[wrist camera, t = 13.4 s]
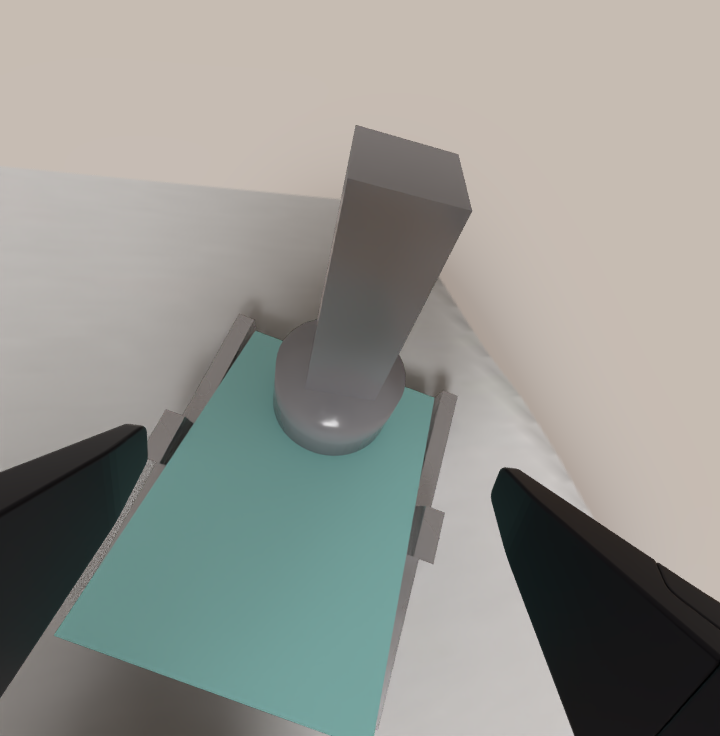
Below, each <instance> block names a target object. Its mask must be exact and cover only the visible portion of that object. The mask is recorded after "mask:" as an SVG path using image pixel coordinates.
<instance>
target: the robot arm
mask: <svg viewBox="0 0 720 736" xmlns="http://www.w3.org/2000/svg"><path fill="white" fill-rule="evenodd" d="M147 459H148V445H147V431H146V428H145V427H144V426H141V425H133V424H124V425H122V426H119V427H117V428H114V429H111V430H109V431H106V432H104V433H101V434H98V435H96V436H93V437H91V438H88V439H85V440H83V441H80V442H78V443H75V444H72V445H70V446H67V447H65V448H62V449H59V450H57V451H54V452H52V453H49V454H47V455H44V456H41V457H39V458H36V459H34V460H31V461H28V462H26V463H23V464H21V465H18V466H15V467H13V468H10V469H8V470H5V471H2V472H0V698H1V696H2V695H3V693H4V692H5V690H6V689H7V687H8V686H9V684H10V683H11V681H12V680H13V678H14V677H15V675H16V674H17V672H18V670H19V669H20V667H21V666H22V664H23V663H24V661H25V660H26V658H27V657H28V655H29V654H30V652H31V651H32V649H33V648H34V646H35V645H36V643H37V642H38V640H39V639H40V637H41V636H42V634H43V632H44V631H45V629H46V628H47V626H48V625H49V623H50V622H51V620H52V619H53V617H54V616H55V614H56V613H57V611H58V610H59V608H60V607H61V605H62V604H63V602H64V601H65V599H66V598H67V596H68V594H69V593H70V591H71V590H72V588H73V587H74V585H75V584H76V582H77V581H78V579H79V578H80V576H81V575H82V573H83V572H84V570H85V569H86V567H87V566H88V564H89V563H90V561H91V560H92V558H93V556H94V555H95V553H96V552H97V550H98V549H99V547H100V546H101V544H102V543H103V541H104V540H105V538H106V537H107V535H108V534H109V532H110V531H111V529H112V527H113V526H114V524H115V523H116V521H117V519H118V517H119V515H120V514H121V512H122V510H123V508H124V506H125V504H126V502H127V500H128V498H129V496H130V494H131V492H132V490H133V488H134V486H135V484H136V483H137V481H138V479H139V477H140V475H141V473H142V471H143V469H144V467H145V465H146V462H147ZM491 501H492V505H493V508H494V512H495V516H496V520H497V523H498V527H499V531H500V535H501V538H502V542H503V546H504V549H505V552H506V556H507V559H508V561H509V564H510V567H511V570H512V572H513V575H514V578H515V580H516V583H517V585H518V588H519V591H520V593H521V596H522V599H523V601H524V604H525V607H526V609H527V612H528V614H529V617H530V620H531V622H532V625H533V628H534V630H535V633H536V636H537V638H538V641H539V644H540V646H541V649H542V651H543V654H544V657H545V659H546V662H547V665H548V667H549V670H550V673H551V675H552V678H553V681H554V683H555V686H556V688H557V691H558V694H559V696H560V699H561V702H562V704H563V707H564V710H565V712H566V715H567V717H568V720H569V723H570V725H571V728H572V731H573V733H574V736H720V603H719V602H718V601H717V600H715V599H713V598H712V597H710V596H708V595H707V594H705V593H703V592H702V591H701V590H699V589H697V588H696V587H695V586H693V585H691V584H690V583H688V582H687V581H685V580H684V579H682V578H681V577H679V576H678V575H676V574H675V573H673V572H672V571H670V570H669V569H667V568H666V567H664V566H662V565H661V564H660V563H656V562H655V560H654V559H652V558H651V557H649V556H648V555H646V554H645V553H643V552H642V551H640V550H639V549H637V548H636V547H634V546H632V545H631V544H630V543H628V542H627V541H625V540H624V539H622V538H621V537H619V536H618V535H616V534H615V533H613V532H612V531H610V530H608V529H607V528H606V527H604V526H603V525H601V524H600V523H598V522H597V521H595V520H594V519H592V518H591V517H589V516H588V515H586V514H585V513H583V512H582V511H580V510H579V509H577V508H576V507H574V506H573V505H571V504H570V503H568V502H567V501H565V500H564V499H562V498H561V497H559V496H558V495H556V494H555V493H553V492H552V491H550V490H549V489H547V488H546V487H544V486H543V485H541V484H540V483H538V482H537V481H535V480H534V479H532V478H531V477H529V476H528V475H526V474H525V473H523V472H522V471H520V470H519V469H515V468H506V467H504V468H502V469H501V470H500V471H499V474H498V476H497V479H496V481H495V484H494V486H493V489H492V492H491Z"/></svg>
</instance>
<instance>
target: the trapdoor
mask: <svg viewBox="0 0 720 736" xmlns="http://www.w3.org/2000/svg"><path fill="white" fill-rule="evenodd" d="M282 342H283V341H282V340H279V339H276V338H274V337H271V336H268V335H266V334H263V333H260V332H258V331H255V332H254V334H253V335H252V337H251V338H250V340H249V341H248V343H247V344H246V346H245V347H244V349H243V350H242V352H241V353H240V355H239V356H238V358H237V359H236V361H235V362H234V364H233V365H232V367H231V368H230V370H229V371H228V373H227V374H226V376H225V377H224V379H223V380H222V382H221V383H220V385H219V386H218V388H217V389H216V391H215V393H214V394H213V396H212V397H211V399H210V400H209V402H208V403H207V405H206V406H205V408H204V409H203V411H202V412H201V414H200V415H199V417H198V418H197V420H196V421H195V423H194V424H193V426H192V427H191V429H190V430H189V432H188V433H187V435H186V436H185V438H184V439H183V441H182V442H181V444H180V445H179V447H178V448H177V450H176V451H175V453H174V455H173V456H172V458H171V459H170V461H169V462H168V464H167V465H166V467H165V468H164V470H163V471H162V473H161V474H160V476H159V477H158V479H157V480H156V482H155V483H154V485H153V486H152V488H151V489H150V491H149V492H148V494H147V495H146V497H145V498H144V500H143V501H142V503H141V504H140V506H139V507H138V509H137V510H136V512H135V513H134V515H133V516H132V518H131V520H130V521H129V523H128V524H127V526H126V527H125V529H124V530H123V532H122V533H121V535H120V536H119V538H118V539H117V541H116V542H115V544H114V545H113V547H112V548H111V550H110V551H109V553H108V554H107V556H106V557H105V559H104V560H103V562H102V563H101V565H100V566H99V568H98V569H97V571H96V572H95V574H94V575H93V577H92V578H91V580H90V582H89V583H88V585H87V586H86V588H85V589H84V591H83V592H82V594H81V595H80V597H79V598H78V600H77V601H76V603H75V604H74V606H73V607H72V609H71V610H70V612H69V613H68V615H67V616H66V618H65V619H64V621H63V622H62V624H61V625H60V627H59V628H58V630H57V631H56V633H55V634H54V636H56V637H59V638H61V639H64V640H67V641H70V642H73V643H75V644H78V645H81V646H84V647H86V648H89V649H92V650H95V651H98V652H100V653H103V654H106V655H109V656H111V657H114V658H117V659H120V660H122V661H125V662H128V663H131V664H134V665H136V666H139V667H142V668H145V669H147V670H150V671H153V672H156V673H159V674H161V675H164V676H167V677H170V678H172V679H175V680H178V681H181V682H184V683H186V684H189V685H192V686H195V687H197V688H200V689H203V690H206V691H208V692H211V693H214V694H217V695H220V696H222V697H225V698H228V699H231V700H233V701H236V702H239V703H242V704H245V705H247V706H250V707H253V708H256V709H258V710H261V711H264V712H267V713H270V714H272V715H275V716H278V717H281V718H283V719H286V720H289V721H292V722H294V723H297V724H300V725H303V726H306V727H308V728H311V729H314V730H317V731H319V732H322V733H325V734H328V735H331V736H374V733H375V727H376V722H377V716H378V711H379V705H380V700H381V694H382V688H383V683H384V677H385V672H386V666H387V660H388V655H389V649H390V644H391V638H392V633H393V627H394V621H395V616H396V610H397V605H398V599H399V593H400V588H401V582H402V577H403V571H404V566H405V560H406V554H407V549H408V543H409V538H410V532H411V526H412V521H413V515H414V510H415V504H416V499H417V493H418V487H419V482H420V476H421V471H422V465H423V459H424V454H425V448H426V443H427V437H428V432H429V426H430V420H431V415H432V409H433V404H434V397H431V396H428V395H426V394H423V393H420V392H418V391H415V390H412V389H410V388H407V387H405V389H404V392H403V395H402V397H401V399H400V401H399V403H398V404H397V406H396V407H395V409H394V411H393V412H392V414H391V416H390V417H389V419H388V420H387V422H386V424H385V425H384V427H383V429H382V430H381V432H380V433H379V435H378V436H377V437H376V439H375V440H374V441H373V442H372V443H370V444H369V445H368V446H366V447H365V448H363V449H361V450H359V451H357V452H354V453H351V454H347V455H342V456H328V455H322V454H317V453H314V452H311V451H309V450H306V449H304V448H302V447H301V446H299V445H298V444H296V443H295V442H294V441H292V440H291V439H290V438H289V437H288V436H287V435H286V434H285V433H284V431H283V430H282V428H281V427H280V425H279V423H278V421H277V419H276V416H275V413H274V408H273V392H274V380H275V367H276V358H277V353H278V350H279V347H280V345H281V344H282Z"/></svg>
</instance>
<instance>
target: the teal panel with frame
mask: <svg viewBox="0 0 720 736" xmlns="http://www.w3.org/2000/svg"><path fill="white" fill-rule="evenodd" d="M255 331H257V330H256V326H255V321H254V319H251V318H249V317H246V316H243V315H241V314H239V315H238V317H237V319H236V321H235V322H234V324H233V326H232V328H231V330H230V331H229V333H228V335H227V337H226V339H225V340H224V342H223V344H222V346H221V348H220V349H219V351H218V353H217V355H216V357H215V358H214V360H213V362H212V364H211V365H210V367H209V369H208V371H207V373H206V374H205V376H204V378H203V380H202V382H201V383H200V385H199V387H198V389H197V391H196V392H195V394H194V396H193V398H192V400H191V401H190V403H189V405H188V407H187V409H186V410H185V412H184V414H183V415H180V414H177V413H175V412H172V411H169V410H165V412H164V413H163V415H162V417H161V419H160V420H159V422H158V424H157V426H156V427H155V429H154V431H153V432H152V434H151V436H150V438H149V439H148V441H147V445H148V459H149V460H152V461H155V462H156V464H155V466H154V468H153V469H152V471H151V473H150V475H149V477H148V478H147V480H146V482H145V484H144V486H143V487H142V489H141V491H140V493H139V495H138V496H137V498H136V500H135V502H134V504H133V505H132V507H131V509H130V511H129V513H128V514H127V516H126V518H125V520H124V521H123V523H122V525H121V527H120V529H119V530H118V532H117V534H116V536H115V538H114V539H113V541H112V543H111V545H110V547H109V548H108V550H107V552H106V554H105V556H104V557H103V559H102V561H101V563H102V562H103V560H104V559H105V557H106V556H107V554H108V553H109V551H110V550H111V548H112V547H113V545H114V544H115V542H116V541H117V539H118V538H119V536H120V535H121V533H122V532H123V530H124V529H125V527H126V526H127V524H128V523H129V521H130V520H131V518H132V516H133V515H134V513H135V512H136V510H137V509H138V507H139V506H140V504H141V503H142V501H143V500H144V498H145V497H146V495H147V494H148V492H149V491H150V489H151V488H152V486H153V485H154V483H155V482H156V480H157V479H158V477H159V476H160V474H161V473H162V471H163V470H164V468H165V467H166V465H167V464H168V462H169V461H170V459H171V458H172V456H173V455H174V453H175V451H176V450H177V448H178V447H179V445H180V444H181V442H182V441H183V439H184V438H185V436H186V435H187V433H188V432H189V430H190V429H191V427H192V426H193V424H194V423H195V421H196V420H197V418H198V417H199V415H200V414H201V412H202V411H203V409H204V408H205V406H206V405H207V403H208V402H209V400H210V399H211V397H212V396H213V394H214V393H215V391H216V389H217V388H218V386H219V385H220V383H221V382H222V380H223V379H224V377H225V376H226V374H227V373H228V371H229V370H230V368H231V367H232V365H233V364H234V362H235V361H236V359H237V358H238V356H239V355H240V353H241V352H242V350H243V349H244V347H245V346H246V344H247V343H248V341H249V340H250V338H251V337H252V335H253V334H254V332H255ZM456 401H457V396H456V395H453V394H451V393H448V392H445V391H442V392H441V393H440V394H438V395H437V396H436V397H435V398H434V404H433V409H432V415H431V420H430V426H429V432H428V437H427V443H426V448H425V454H424V459H423V465H422V471H421V476H420V482H419V487H418V493H417V499H416V504H415V510H414V515H413V521H412V526H411V532H410V538H409V543H408V549H407V554H406V560H405V566H404V571H403V577H402V582H401V588H400V593H399V599H398V605H397V610H396V616H395V621H394V627H393V633H392V638H391V644H390V649H389V655H388V660H387V666H386V672H385V677H384V683H383V688H382V694H381V700H380V705H379V711H378V716H377V722H376V727H375V729H376V730H378V728H379V723H380V719H381V715H382V711H383V707H384V703H385V698H386V694H387V690H388V686H389V682H390V677H391V673H392V669H393V665H394V661H395V656H396V652H397V648H398V644H399V640H400V635H401V631H402V627H403V623H404V619H405V614H406V610H407V606H408V602H409V598H410V593H411V589H412V585H413V581H414V577H415V573H416V568H417V564H418V560H419V559H420V560H423V561H426V562H429V563H431V564H433V563H434V559H435V554H436V550H437V545H438V541H439V536H440V532H441V527H442V523H443V518H444V514H445V513H444V512H441V511H439V510H436V509H433V508H431V505H432V501H433V497H434V493H435V489H436V484H437V480H438V476H439V472H440V468H441V463H442V459H443V455H444V451H445V447H446V443H447V438H448V434H449V430H450V426H451V422H452V417H453V413H454V409H455V405H456ZM101 563H100V565H101ZM100 565H99V566H100ZM99 566H98V568H99ZM98 568H97V569H98ZM96 571H97V570H96Z"/></svg>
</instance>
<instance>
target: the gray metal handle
mask: <svg viewBox="0 0 720 736" xmlns="http://www.w3.org/2000/svg"><path fill="white" fill-rule="evenodd" d="M471 212H472V209H471V205H470V200H469V196H468V193H467V188H466V184H465V180H464V176H463V172H462V168H461V164H460V160H459V155H458V154H455V153H451V152H448V151H444V150H441V149H438V148H434V147H431V146H427V145H423V144H420V143H417V142H413V141H410V140H406V139H403V138H400V137H396V136H392V135H389V134H386V133H382V132H378V131H375V130H372V129H368V128H365V127H361V126H358V125H356V126H355V131H354V136H353V141H352V146H351V151H350V157H349V162H348V167H347V172H346V177H345V182H344V187H343V192H342V197H341V202H340V207H339V212H338V217H337V222H336V227H335V232H334V237H333V242H332V247H331V252H330V257H329V262H328V267H327V272H326V277H325V282H324V287H323V292H322V297H321V302H320V307H319V312H318V317H317V319H316V320H313V321H309V322H307V323H304V324H302V325H300V326H298V327H297V328H295V329H294V330H293V331H291V332H290V333H289V334H288V335H287V336H286V338H285V339H284V340H283V342H282V344H281V345H280V347H279V350H278V353H277V358H276V367H275V380H274V392H273V408H274V413H275V416H276V419H277V421H278V423H279V425H280V427H281V428H282V430H283V431H284V433H285V434H286V435H287V436H288V437H289V438H290V439H291V440H292V441H294V442H295V443H296V444H298V445H299V446H301V447H302V448H304V449H306V450H309V451H311V452H314V453H317V454H322V455H328V456H342V455H347V454H351V453H354V452H357V451H359V450H361V449H363V448H365V447H366V446H368V445H369V444H370V443H372V442H373V441H374V440H375V439H376V437H377V436H378V435H379V433H380V432H381V430H382V429H383V427H384V425H385V424H386V422H387V420H388V419H389V417H390V416H391V414H392V412H393V411H394V409H395V407H396V406H397V404H398V403H399V401H400V399H401V397H402V395H403V392H404V389H405V381H406V376H405V369H404V365H403V362H402V360H401V358H400V356H399V353H400V351H401V349H402V347H403V345H404V343H405V341H406V339H407V337H408V335H409V333H410V331H411V329H412V327H413V325H414V323H415V321H416V319H417V317H418V315H419V314H420V312H421V310H422V308H423V306H424V304H425V302H426V300H427V298H428V296H429V294H430V292H431V290H432V288H433V286H434V284H435V282H436V280H437V278H438V276H439V275H440V273H441V271H442V268H443V267H444V265H445V263H446V261H447V259H448V257H449V255H450V253H451V251H452V249H453V247H454V245H455V243H456V241H457V239H458V237H459V236H460V234H461V232H462V230H463V227H464V226H465V224H466V222H467V220H468V218H469V216H470V214H471Z"/></svg>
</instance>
